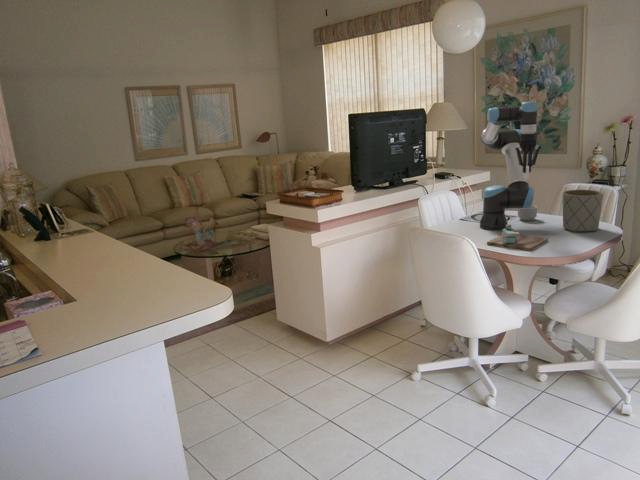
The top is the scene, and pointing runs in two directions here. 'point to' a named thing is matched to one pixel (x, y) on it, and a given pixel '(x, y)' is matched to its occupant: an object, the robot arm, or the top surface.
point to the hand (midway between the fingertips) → (526, 178)
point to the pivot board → (517, 241)
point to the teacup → (527, 213)
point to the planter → (582, 210)
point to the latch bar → (510, 238)
